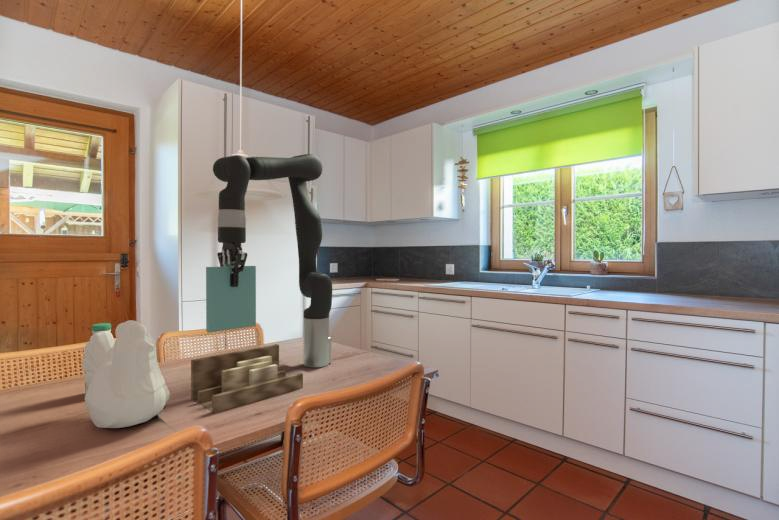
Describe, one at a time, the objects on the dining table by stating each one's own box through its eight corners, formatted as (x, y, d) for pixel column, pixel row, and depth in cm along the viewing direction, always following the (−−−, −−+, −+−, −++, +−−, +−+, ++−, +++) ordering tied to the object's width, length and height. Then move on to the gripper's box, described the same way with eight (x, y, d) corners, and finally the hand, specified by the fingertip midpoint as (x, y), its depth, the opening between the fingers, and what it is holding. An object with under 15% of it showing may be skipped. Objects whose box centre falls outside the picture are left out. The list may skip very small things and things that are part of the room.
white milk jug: (181, 420, 100) (180, 318, 99) (106, 444, 87) (105, 328, 86) (136, 397, 115) (135, 309, 114) (66, 415, 102) (65, 316, 101)
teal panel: (252, 325, 124) (252, 265, 124) (255, 325, 123) (255, 265, 123) (206, 331, 114) (206, 267, 113) (209, 332, 113) (209, 267, 112)
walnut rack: (276, 382, 129) (276, 344, 129) (302, 392, 120) (302, 351, 119) (191, 404, 110) (191, 359, 110) (214, 419, 100) (214, 370, 100)
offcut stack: (268, 385, 121) (269, 355, 121) (277, 389, 118) (277, 358, 118) (219, 399, 110) (219, 365, 110) (227, 403, 107) (227, 369, 106)
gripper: (256, 226, 116) (256, 287, 116) (232, 227, 125) (232, 284, 126) (231, 224, 110) (231, 289, 111) (207, 226, 120) (208, 285, 120)
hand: (231, 286), depth 118 cm, fingers closed on teal panel, 2 cm apart
